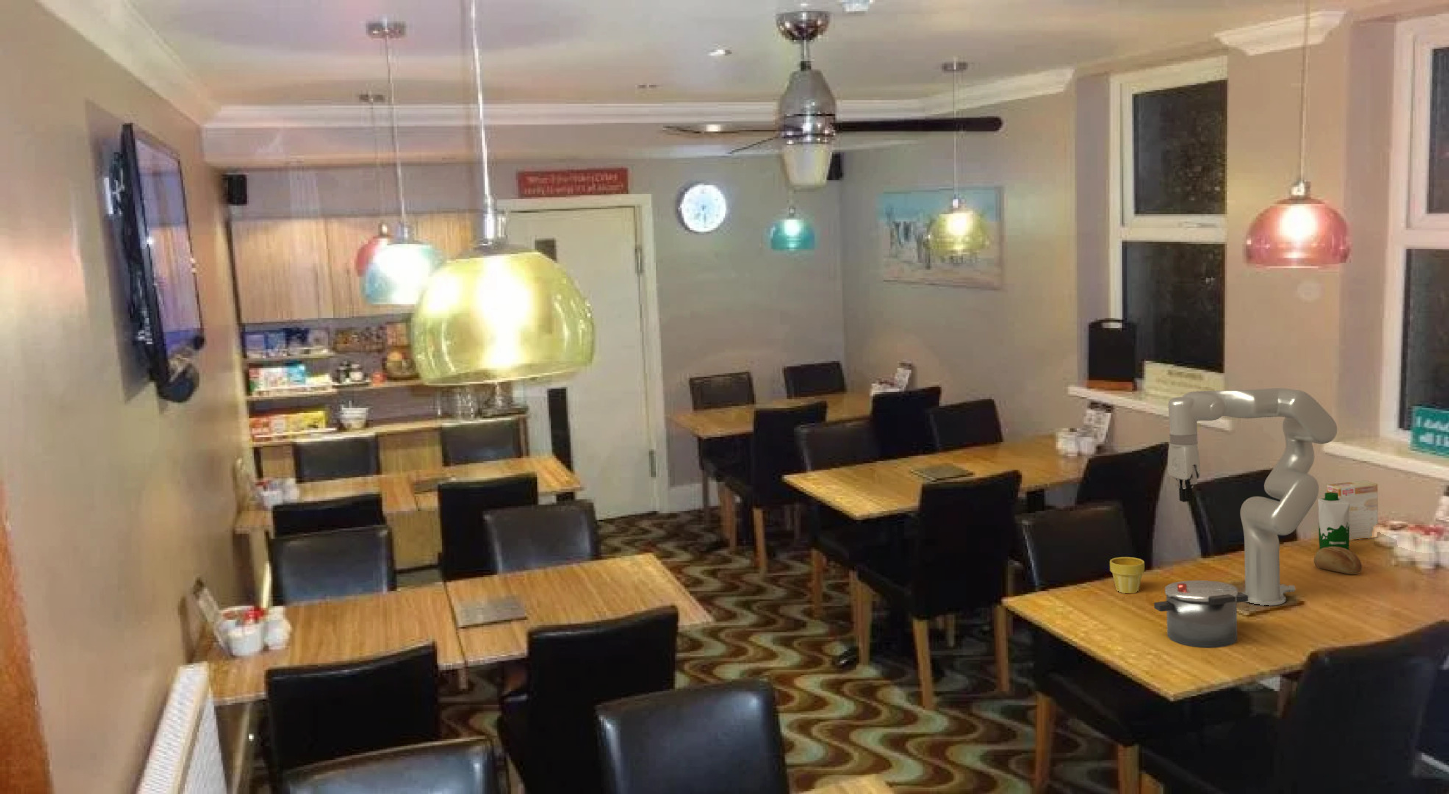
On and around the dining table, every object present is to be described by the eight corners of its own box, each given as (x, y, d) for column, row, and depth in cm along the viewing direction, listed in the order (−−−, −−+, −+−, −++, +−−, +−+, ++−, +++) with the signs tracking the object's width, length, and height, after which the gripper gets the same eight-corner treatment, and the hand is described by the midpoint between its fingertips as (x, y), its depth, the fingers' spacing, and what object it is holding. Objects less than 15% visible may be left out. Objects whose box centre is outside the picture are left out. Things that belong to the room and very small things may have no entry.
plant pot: (1140, 585, 365) (1139, 556, 364) (1149, 595, 355) (1148, 564, 354) (1107, 586, 366) (1106, 557, 365) (1115, 596, 356) (1114, 566, 355)
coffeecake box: (1365, 533, 405) (1365, 479, 403) (1378, 538, 398) (1378, 483, 396) (1326, 537, 404) (1325, 483, 401) (1339, 542, 397) (1339, 487, 394)
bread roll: (1350, 579, 356) (1350, 554, 355) (1306, 570, 369) (1305, 546, 368) (1368, 573, 361) (1368, 549, 360) (1323, 564, 374) (1323, 540, 373)
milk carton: (1343, 548, 389) (1342, 491, 386) (1353, 555, 380) (1352, 497, 377) (1315, 549, 390) (1315, 492, 388) (1325, 556, 381) (1324, 498, 379)
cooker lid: (1212, 581, 325) (1212, 571, 325) (1257, 599, 304) (1256, 588, 304) (1151, 588, 323) (1151, 577, 323) (1192, 607, 302) (1191, 595, 301)
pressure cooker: (1224, 620, 328) (1224, 580, 326) (1264, 641, 309) (1263, 599, 307) (1140, 630, 324) (1138, 589, 323) (1174, 652, 306) (1173, 609, 304)
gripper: (1157, 437, 337) (1160, 497, 339) (1186, 445, 322) (1188, 507, 324) (1180, 434, 338) (1183, 494, 340) (1210, 442, 323) (1212, 504, 326)
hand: (1186, 500), depth 332 cm, fingers closed
